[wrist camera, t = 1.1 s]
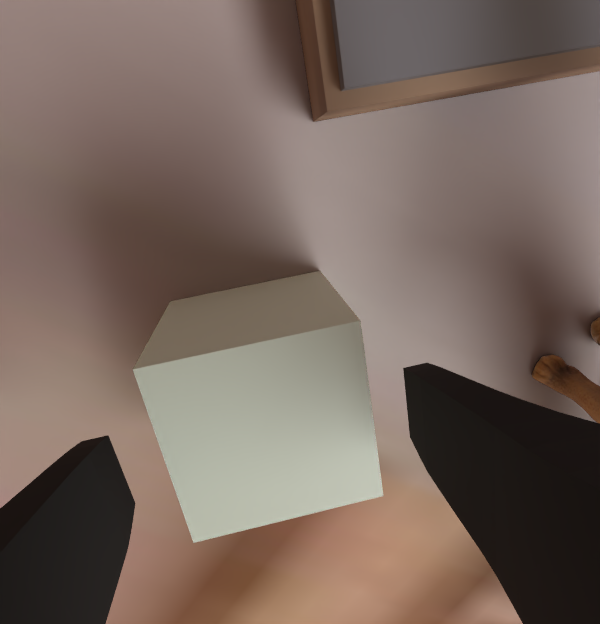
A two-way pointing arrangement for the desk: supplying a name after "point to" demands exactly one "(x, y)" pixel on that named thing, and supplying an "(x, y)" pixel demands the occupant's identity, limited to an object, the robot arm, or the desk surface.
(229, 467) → the sage block
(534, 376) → the lion figurine
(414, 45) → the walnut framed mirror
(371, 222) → the desk surface
